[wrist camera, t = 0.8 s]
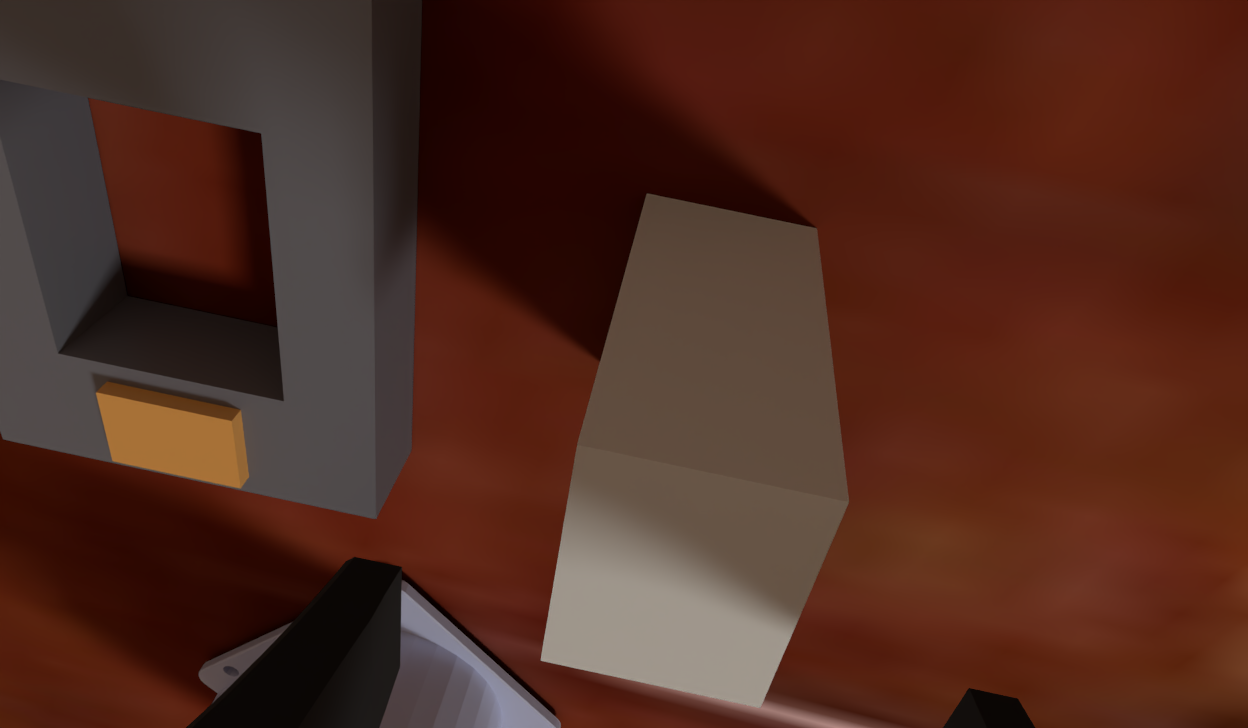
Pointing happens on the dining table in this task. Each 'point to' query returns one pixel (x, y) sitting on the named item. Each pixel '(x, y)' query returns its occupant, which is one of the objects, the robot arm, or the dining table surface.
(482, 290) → the dining table surface
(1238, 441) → the dining table surface
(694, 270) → the plug
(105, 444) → the power strip
